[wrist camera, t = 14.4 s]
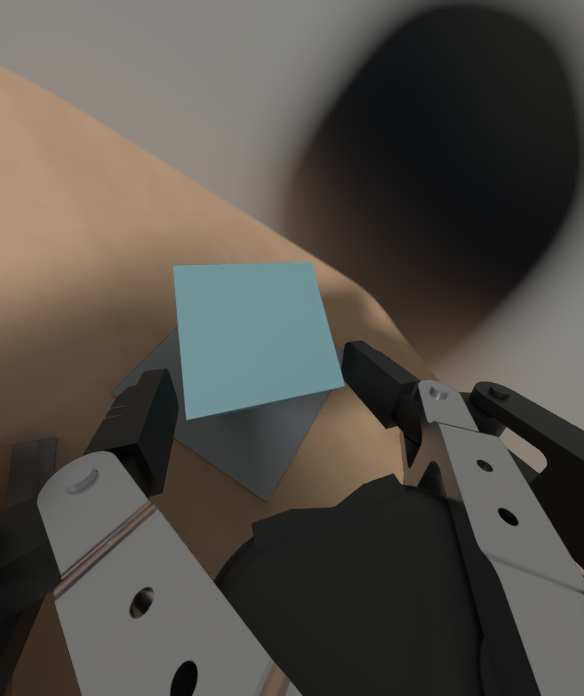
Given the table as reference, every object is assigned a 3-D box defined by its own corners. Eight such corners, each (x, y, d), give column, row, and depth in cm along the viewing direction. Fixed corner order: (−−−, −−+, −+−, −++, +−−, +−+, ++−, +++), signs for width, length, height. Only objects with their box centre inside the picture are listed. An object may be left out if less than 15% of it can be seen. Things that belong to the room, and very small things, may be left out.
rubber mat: (267, 501, 14) (267, 502, 14) (112, 393, 13) (110, 393, 13) (348, 357, 18) (349, 356, 18) (233, 273, 18) (233, 271, 18)
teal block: (288, 400, 16) (345, 386, 7) (217, 416, 14) (186, 420, 6) (275, 337, 17) (311, 261, 8) (208, 345, 15) (172, 265, 7)
